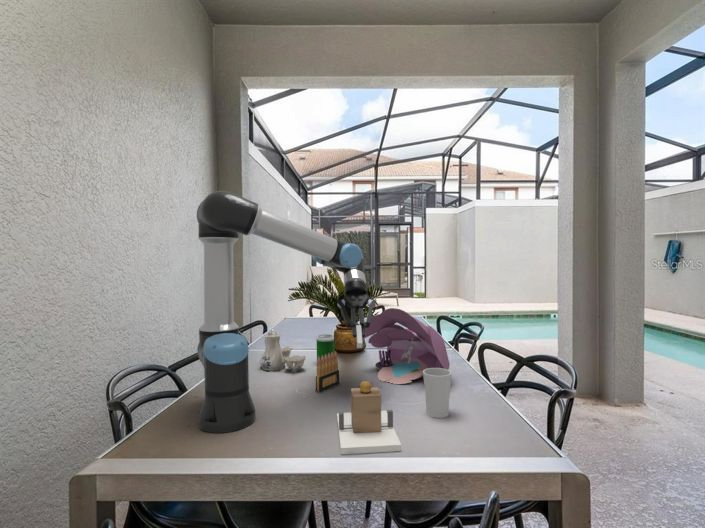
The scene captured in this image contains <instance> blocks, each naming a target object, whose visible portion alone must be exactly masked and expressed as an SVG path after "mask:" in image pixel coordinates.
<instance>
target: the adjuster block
mask: <svg viewBox="0 0 705 528" xmlns="http://www.w3.org/2000/svg"><path fill="white" fill-rule="evenodd" d="M350 405H351V406H350V407H351V408H350V413H351V423H352V428H353V433H356V432H375V431H381V411H382V394H381V392H380V390H379V388H378V387H377V386H375V387H372V384H371V383H370V382H369V381H367V380H363V381H361V383H360V384H359V387H353V388H350Z"/></svg>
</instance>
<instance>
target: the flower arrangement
mask: <svg viewBox="0 0 705 528" xmlns="http://www.w3.org/2000/svg"><path fill="white" fill-rule="evenodd" d="M366 338H369V339H368V340H367V341H368V342H367V343H368V344H370V345H371V346H372V347H373V348H376V349H381V348H382V349H383V350H378V356H379V357H378V358H379V361H377V362H376V363H375V367H376V368H377V370H379V371H378V373H377V376H376V377H377V379H378V380H379V381H380V380H381V381H380V382H382V383H383V382H385V381H388V382H390V383H389V384H391V383H393V384H392V385H403V384H409V383H413V381H412V380H416V379H420V378H421V377H422V378H423V370H425V369H428V368H442V369H447V370H449V369H450V360H449V356H448V352H447V348H446V344H445V340H444V338H443V336H442V335H441V334H440V333H439V332H438V331H437V330H436V329H435V328H434V327H433V326H431V325H426V324H425V323H423V321H421V320H419V319H417V318H415V317H414V316H412V315H410V314H409V313H408V312H406V311H404V310H402V309H400V308H394V307H391V308H386V309H384V310H383V311H382V312H380V314H375V315H372V316H371V321H370V326H369V328H365V337H362V340H364V339H366ZM384 348H386V350H384ZM385 383H386V382H385Z"/></svg>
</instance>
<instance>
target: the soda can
mask: <svg viewBox="0 0 705 528" xmlns="http://www.w3.org/2000/svg"><path fill="white" fill-rule="evenodd" d="M332 352H333V354H334V353H335V337H334V336H333V335H332V334H325V333H324V334H319V335H318V336H317V337H316V361H317V360H318V356H319V357H320V360H321V356H322V355H323V357H325V354H326V355H327V357H328V353H330V357H331V353H332Z"/></svg>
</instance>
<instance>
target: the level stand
mask: <svg viewBox="0 0 705 528" xmlns="http://www.w3.org/2000/svg"><path fill="white" fill-rule="evenodd" d="M336 420H337V421H336V422H337V429H338V440H339V447H340V455H356V454H357V455H359V454H373V453H390V452H392V453H394V452H402V443H401V441H400V438H399V437H398V434H397V432H396V429H395V428H394V411H393V409H387V410H381V431H375V432H356V433H353V428H352V423H351V412H344V411H342V412H341V411H339V412H337V413H336Z"/></svg>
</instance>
